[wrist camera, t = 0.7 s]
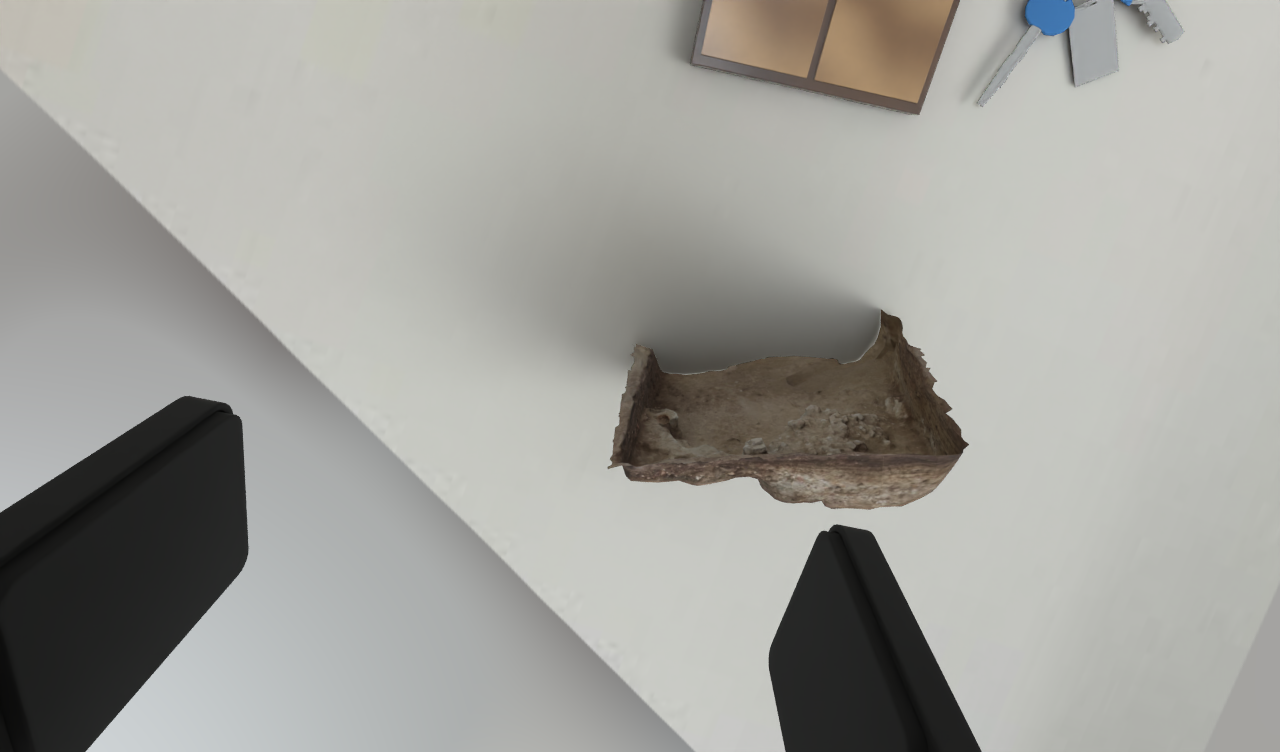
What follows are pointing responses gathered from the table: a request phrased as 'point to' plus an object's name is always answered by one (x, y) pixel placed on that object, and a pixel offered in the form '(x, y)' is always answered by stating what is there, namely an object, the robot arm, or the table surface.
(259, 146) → the table surface
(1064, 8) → the key chain
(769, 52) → the game board
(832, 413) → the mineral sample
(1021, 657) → the table surface
